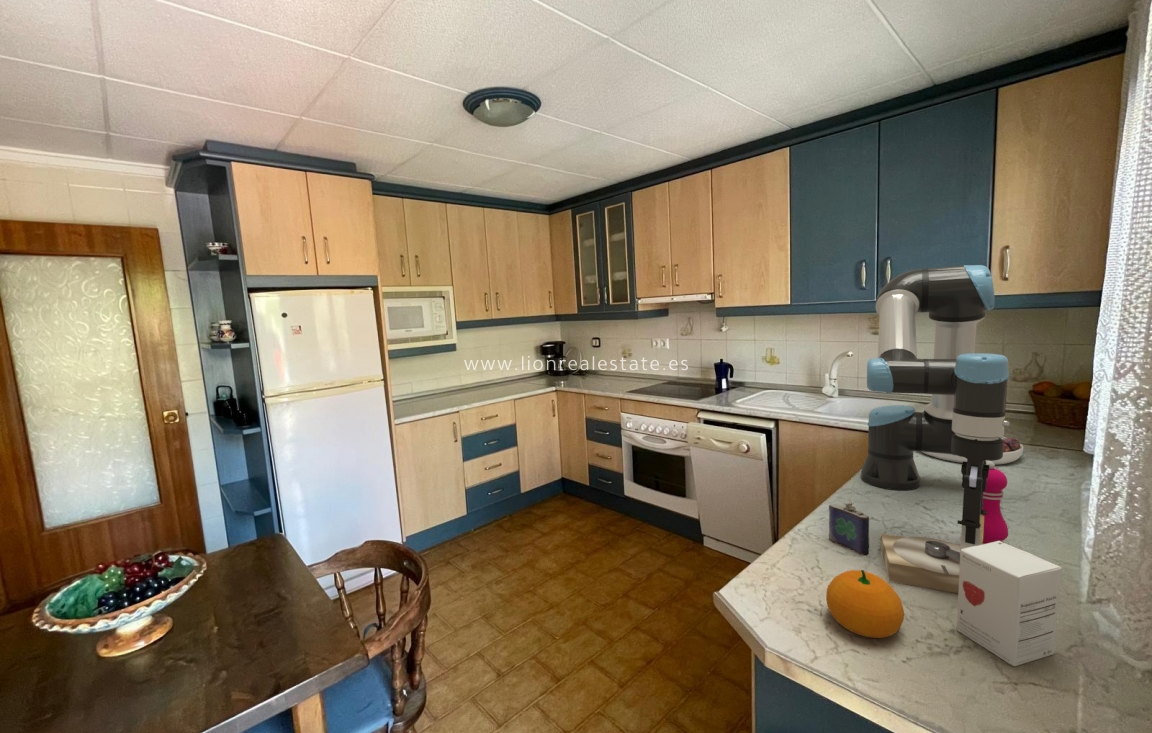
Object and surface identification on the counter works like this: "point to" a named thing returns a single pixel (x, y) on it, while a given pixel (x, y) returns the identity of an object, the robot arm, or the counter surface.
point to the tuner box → (919, 563)
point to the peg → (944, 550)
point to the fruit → (865, 604)
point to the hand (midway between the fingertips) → (970, 551)
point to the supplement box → (1008, 601)
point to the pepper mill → (994, 506)
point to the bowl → (1010, 454)
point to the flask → (849, 528)
